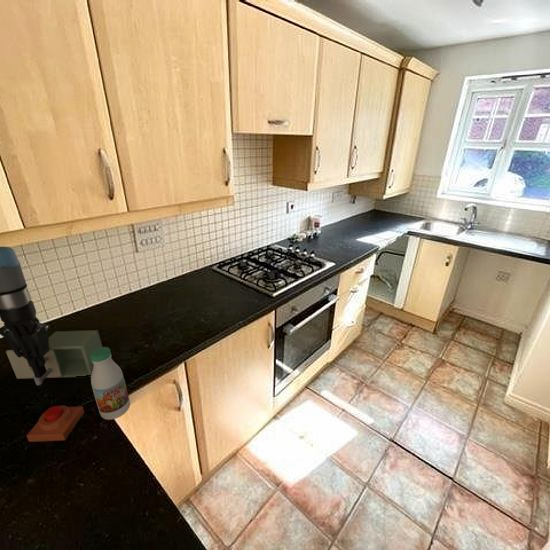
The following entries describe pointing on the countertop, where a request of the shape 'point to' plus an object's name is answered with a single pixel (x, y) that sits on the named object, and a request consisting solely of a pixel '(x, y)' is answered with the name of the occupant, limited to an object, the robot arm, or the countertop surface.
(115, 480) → the countertop surface
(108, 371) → the milk bottle
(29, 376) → the slide door
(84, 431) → the countertop surface
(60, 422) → the button box
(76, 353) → the cupboard
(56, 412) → the button
